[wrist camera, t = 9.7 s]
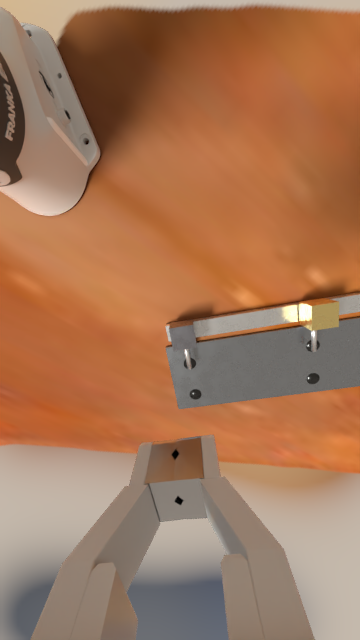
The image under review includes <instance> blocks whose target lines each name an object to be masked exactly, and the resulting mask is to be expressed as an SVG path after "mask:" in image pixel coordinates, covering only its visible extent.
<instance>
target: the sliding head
mask: <svg viewBox="0 0 360 640" xmlns="http://www.w3.org/2000/svg"><path fill="white" fill-rule="evenodd" d="M299 324H300V325H301V326H303V327H305V328H307V329H309V330H311V351H313V352H316V351H317V330H321V329H328V328H334V327H339V301H335V300H330V299H326V298H320V299H314V300H308V301H302V302H299Z"/></svg>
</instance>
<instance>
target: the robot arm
mask: <svg viewBox="0 0 360 640" xmlns="http://www.w3.org/2000/svg"><path fill="white" fill-rule="evenodd" d="M30 37H31V38H30ZM86 141H89V144H87V145H86ZM99 158H100V149H99V146H98V144H97V142H96V139H95V137H94V134H93V132H92V130H91V127H90V125H89V122H88V120H87V118H86V115H85V113H84V110H83V108H82V106H81V103H80V101H79V98H78V96H77V94H76V91H75V89H74V86H73V84H72V82H71V79H70V77H69V74H68V72H67V70H66V67H65V65H64V62H63V60H62V58H61V55H60V53H59V51H58V48H57V46H56V44H55V42H54V40H53V38H52V37H51V36H50V34H49V33H48V32H47V31H46V30H44V29H43V28H41V27H38V26H35V25H32V24H28V23H19V22H18V20H17V19H16V18H15V17H14V16H13V15H12V14H11V13H10V12H8V11H7V10H5V9H3V8H2V7H0V191H1V192H2V193H4V194H6V195H7V196H9V197H10V198H12V199H13V200H15V201H16V202H17V203H19V204H20V205H21V206H23V207H24V208H26V209H27V210H29V211H31V212H33V213H36V214H40V215H46V216H52V215H58V214H61V213H64V212H66V211H68V210H69V209H71V208H72V207H73V206H74V205H75V204H76V203H77V202H78V201H79V199H80V198H81V196H82V194H83V192H84V189H85V186H86V183H87V179H88V175H89V173H90V171H91V170H92V168H93V167H94V166H95V165H96V163H97V162H98V160H99ZM197 518H208V520H209V522H210V524H211V526H212V528H213V530H214V531H215V533H216V535H217V537H218V539H219V541H220V542H221V544H222V546H223V548H224V550H225V552H226V554H227V555H224V557H223V559H222V561H221V569H222V579H223V588H224V598H225V607H226V617H227V627H228V636H229V640H315V639H314V636H313V633H312V630H311V627H310V625H309V621H308V619H307V615H306V613H305V610H304V607H303V604H302V601H301V598H300V595H299V592H298V589H297V586H296V583H295V580H294V577H293V575H292V572H291V569H290V566H289V563H288V560H287V557H286V554H285V551H284V549H283V548H282V546H281V545H280V544H279V543H278V541H277V540H276V539H275V538H274V537H273V535H272V534H271V533H270V532H269V531H268V529H267V528H266V527H265V526H264V525H263V523H262V522H261V521H260V519H259V518H258V517H257V516H256V514H255V513H254V512H253V511H252V510H251V508H250V507H249V506H248V505H247V503H246V502H245V501H244V500H243V499H242V497H241V496H240V495H239V494H238V492H237V491H236V490H235V489H234V488H233V486H232V485H231V484H230V483H229V481H228V480H227V479H226V478H225V477H221V475H220V469H219V463H218V457H217V451H216V445H215V439H214V435H207V436H198V437H190V438H183V439H177V440H166V441H155V442H146V443H141V445H140V446H139V449H138V453H137V457H136V461H135V465H134V468H133V472H132V476H131V480H130V484H129V486H126V487H124V488H123V490H122V491H121V492H120V493H119V495H118V496H117V497H116V498H115V500H114V501H113V502H112V503H111V504H110V506H109V507H108V508H107V509H106V511H105V512H104V513H103V514H102V515H101V517H100V518H99V519H98V520H97V522H96V523H95V524H94V525H93V527H92V528H91V529H90V530H89V531H88V533H87V534H86V535H85V536H84V538H83V539H82V540H81V541H80V543H79V544H78V545H77V546H76V547H75V549H74V550H73V551H72V553H71V554H70V555H69V556H68V557H67V558H66V560H65V561H64V562H63V563H62V566H61V568H60V570H59V573H58V575H57V578H56V580H55V582H54V585H53V587H52V589H51V592H50V594H49V597H48V599H47V602H46V604H45V606H44V609H43V611H42V614H41V616H40V618H39V621H38V623H37V626H36V628H35V630H34V633H33V635H32V637H31V640H135V639H136V632H137V624H138V620H137V617H136V614H135V612H134V609H133V607H132V605H131V603H130V600H129V598H128V596H127V593H126V592H127V590H128V588H129V586H130V584H131V582H132V580H133V578H134V576H135V574H136V572H137V570H138V568H139V566H140V564H141V562H142V560H143V557H144V556H145V554H146V552H147V550H148V548H149V546H150V544H151V542H152V540H153V537H154V535H155V533H156V531H157V529H158V527H159V525H160V522H164V521H172V520H180V519H197Z"/></svg>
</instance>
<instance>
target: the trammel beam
mask: <svg viewBox="0 0 360 640" xmlns="http://www.w3.org/2000/svg"><path fill="white" fill-rule="evenodd" d="M326 299H330V300H335V301H339V315H341V314H348V313H354V312H360V292H357V293H351V294H345V295H339V296H333V297H326ZM297 321H299V302H296V303H290V304H284V305H278V306H272V307H266V308H260V309H254V310H247V311H241V312H235V313H229V314H223V315H217V316H211V317H205V318H199V319H190V320H184V321H178V322H172V323H168V324H166V330H167V335H168V340H169V341H171V342H172V347H173V351H178V350H184V351H185V357H186V362H187V367H188V370H191V369H192V365H191V359H190V354H189V349H191V348H197V342H196V337H201V336H208V335H214V334H220V333H227V332H233V331H239V330H246V329H252V328H259V327H265V326H271V325H278V324H284V323H290V322H297Z"/></svg>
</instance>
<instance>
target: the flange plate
mask: <svg viewBox="0 0 360 640" xmlns="http://www.w3.org/2000/svg"><path fill="white" fill-rule="evenodd" d="M166 352H167V356H168V361H169V366H170V370H171V375H172V380H173V384H174V389H175V394H176V398H177V403H178V408H179V409H184V408H192V407H200V406H207V405H215V404H223V403H231V402H239V401H247V400H254V399H262V398H270V397H278V396H286V395H293V394H301V393H309V392H317V391H325V390H333V389H340V388H348V387H356V386H360V317H354V318H348V319H341V320H339V327H334V328H328V329H321V330H317V351H316V352H313V351H311V330H309V329H307V328H305V327H303V326H296V327H289V328H283V329H277V330H270V331H264V332H257V333H251V334H244V335H238V336H231V337H225V338H219V339H212V340H206V341H199V342H197V348H191V349H189V354H190V359H191V365H192V369H191V370H188V367H187V362H186V357H185V351H184V350H178V351H173V347H172V346H167V347H166Z"/></svg>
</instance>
